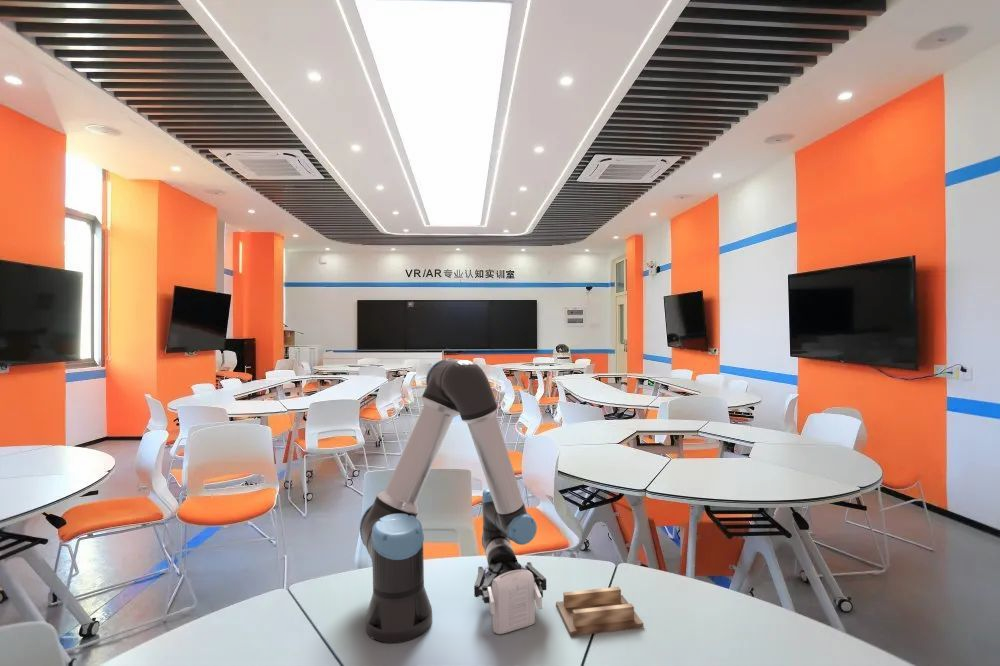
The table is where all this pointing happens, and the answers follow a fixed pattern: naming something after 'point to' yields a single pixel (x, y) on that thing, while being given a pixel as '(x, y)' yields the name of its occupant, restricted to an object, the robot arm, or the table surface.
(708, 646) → the table surface
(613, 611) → the rack
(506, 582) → the photo printer
